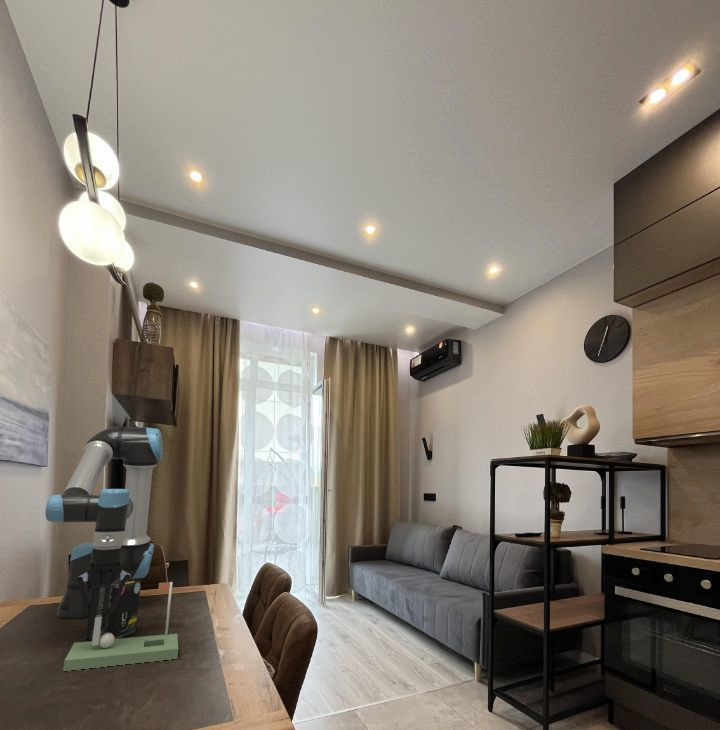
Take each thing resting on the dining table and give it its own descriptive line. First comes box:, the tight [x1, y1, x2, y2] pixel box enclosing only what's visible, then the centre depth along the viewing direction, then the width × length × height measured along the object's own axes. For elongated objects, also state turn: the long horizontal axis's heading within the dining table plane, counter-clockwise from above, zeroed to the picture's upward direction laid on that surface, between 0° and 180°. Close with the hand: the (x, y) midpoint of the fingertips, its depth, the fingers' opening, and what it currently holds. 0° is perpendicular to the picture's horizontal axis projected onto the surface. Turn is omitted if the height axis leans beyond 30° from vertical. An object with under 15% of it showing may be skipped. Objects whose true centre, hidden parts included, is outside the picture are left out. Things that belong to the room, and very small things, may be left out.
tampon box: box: [85, 579, 142, 641], centre depth 146 cm, size 11×9×15 cm
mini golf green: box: [62, 581, 179, 672], centre depth 130 cm, size 14×26×16 cm, turn 111°
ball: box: [99, 633, 114, 648], centre depth 127 cm, size 4×4×4 cm
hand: (95, 643), depth 126 cm, fingers closed
